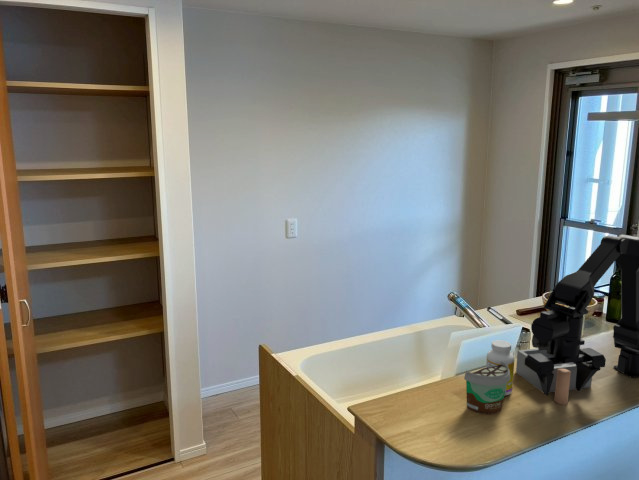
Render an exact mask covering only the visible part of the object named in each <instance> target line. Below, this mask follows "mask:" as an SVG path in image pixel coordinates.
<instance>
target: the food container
mask: <svg viewBox="0 0 639 480" xmlns="http://www.w3.org/2000/svg"><path fill="white" fill-rule="evenodd" d="M464 380H465V385H466V391H465V392H466V409H467V410H469V411H471V412H473V413H476V414H481V415H495V414H498V413H500V412H501V411H502V410H503V406H504V399H505V396H506V395H505V389H506V384H507V382H508V381H509V380H510V371H509V369H508V366H507V365H506V364H505V363H503V362H502V361H501V363H500V365H498V366H495V367H487V368H486V367H483V368H481V369H479V370H477V371H473V372H470V371H468V370H466V371H465V373H464ZM504 395H505V396H504Z"/></svg>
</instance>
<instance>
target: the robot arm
mask: <svg viewBox="0 0 639 480" xmlns="http://www.w3.org/2000/svg"><path fill="white" fill-rule="evenodd" d="M614 263H616V264H617V265H618V267H619V269H620V271H621V272H620V276H621V277H620V283H621V284H620V286H621V287H620V289H621V290H620V292H621V294H620V295H621V297H620V298H621V303H620V304H621V318H620V319H619V320H618V322H616V324H615V325H614V326H613V327H612V328H613V335H612V338H613V344H614V348H616V349H619V354H618V360H617V365H613V369H615V370H616V371H619V372H620V373H623V374H624V375H626V376H628V377H629V378H639V236H635V235H628V234H620V235H618V236H615V235H614V236H613V235H604V236H603V237H602V238H601V240H600V244H599V245H598V246H597V247H596V249H595V250H594V251H593V252H592V253H591V254H590V255H589V257H588V258H587V259H586V260H585V261H584V263H583V264H582V265H581V266H580V267H579V268H578V269H577V271H575V272H573V273H569V274H567V275H564V277H563V278H561V279H560V280H559V281H558V282H557V283H556V284H555V286H554V287H553V289H552V291H551V293H550V295H549V296H548V299H547V300H546V302H545V304H544V306H543V308H544V309H545V310H547V311H545V310H543V311H541V312H540V315H539V317H535V318H534V320H533V321H532V322H531V325H530V328H531V333H532V337H531V346H532V347H533V349H536V348H538V350H540V351H541V350H547V353H548V354H550V355H553V357H551V358H547V357H546V356H544V355H542V354H541V353H538V354H528V355H527V356H526V357H525V364H524V365H526V366H527V367H529V368H530V369H531V370H533V371H534V372H536V373H537V375H538V378H539V381H540V384H541V387H542V391H543V392H542V391H541V392H542V394H543V395H544V396H545V397H546V396H549V393H550V392H549V391H550V388H551V384H552V381H553V377H554V374H553V373H552V372H553V370H554V366H556V365H564V364H573V363H575V364H576V367H577V374H576V389H575V390H576V391H577V392H581V391H582V390H583V389H584V388H583V387H584V386H585V385H586V383H587V382H588V381H589V380H590V378H591V377H592V378H593V376H594V375H596V373H597V372H598V371H601V370H602V369H601V368H605V367H606V361H607V359H606V357H605V356H604V354H603V353H601V352H599V351H597V350H595V349H593V348H591V347H586V348H581V346H584V345H585V340H584V339H582V332H583V331H582V330H583V323H584V315H588V314H589V310H587V308H588V306H589V305H590V304H591V302H592V300H593V298H594V297H595V286H596V285H597V283H598V282H599V281H600V280H601V279H602V277H604V275H605V274H606V273H607V271H608V270H609V269H610V268H611V267H612V265H613V264H614ZM557 303H558V304H557Z"/></svg>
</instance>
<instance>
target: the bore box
mask: <svg viewBox="0 0 639 480" xmlns="http://www.w3.org/2000/svg"><path fill="white" fill-rule="evenodd" d="M538 353H541V354H542V355H544V356H546V357H547V358H551V357H553V355H550V354H548V353H547V350H541V351H540V350H538V348H528V349H518V350H517V356H516V367H515V373H516V372H517V373H518V374H517V373H516V374H517V375H519V376H520V377H521V376H522V377H521V378H523V379H524V380H525V381H527V383H529V384H530V385H532V386H533V387H535V388H536V389H537V390H539V391H540V392H542V393H543V391H542V387H541V384H540V381H539V378H538V375H537V373H536V372H534V371H533V370H531V369H530V368H529V367H527V366H526V365H524V364H525V357H526V356H527V355H528V354H538ZM558 369H567V370H569V371H570V372H571V376H570V385H569V391H571V390H572V391H573V390H576V374H577V367H576V364H575V363H573V364H564V365H556V366H554V370H553V372H552V373H553V374H554V377H553V381H552V384H551V388H550V391H549V393H555V388H556V378H557V370H558ZM592 380H593V376H592V377H591V378H590V380H589V381H588V382H587V383H586V385H585V386H584V387H583V388H582V389H586V388H587V389H588V388H591V387H592Z"/></svg>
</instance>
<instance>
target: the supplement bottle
mask: <svg viewBox="0 0 639 480" xmlns="http://www.w3.org/2000/svg"><path fill="white" fill-rule="evenodd" d="M511 350H512V344H511V343H510V342H509V341H506V340H503V339H502V340H501V339H497V340H496V339H495V340H492V342H491V350H489V351H488V352H487V353H486V363H485V364H486V365H485V368H487V367H495V366H498V365H500V363H501V361H502V362H503V363H505V364H506V365H507V366H508V369H509V371H510V380H509V381H508V382H507V384H506V389H505V395H504V397H505V396H508V395H511V394H512V393H513V385H514V371H515V370H514V369H515V356H514V353H512V351H511Z"/></svg>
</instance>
